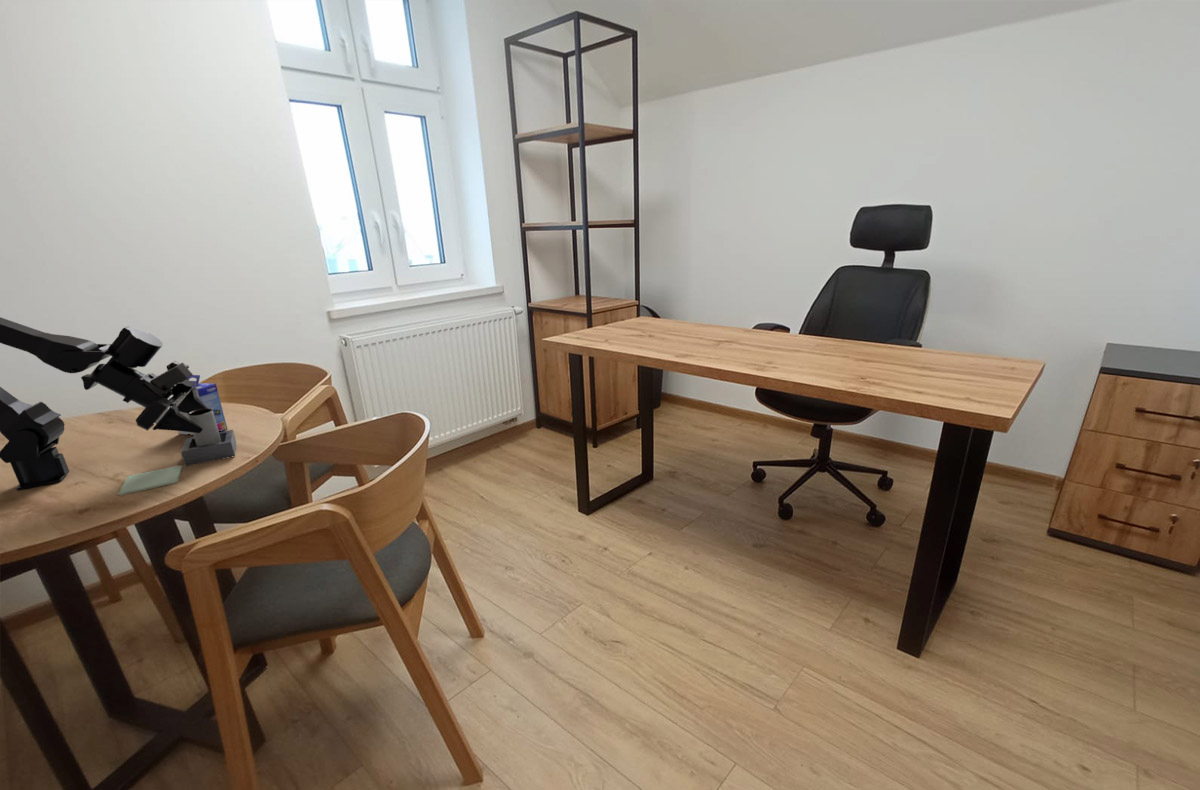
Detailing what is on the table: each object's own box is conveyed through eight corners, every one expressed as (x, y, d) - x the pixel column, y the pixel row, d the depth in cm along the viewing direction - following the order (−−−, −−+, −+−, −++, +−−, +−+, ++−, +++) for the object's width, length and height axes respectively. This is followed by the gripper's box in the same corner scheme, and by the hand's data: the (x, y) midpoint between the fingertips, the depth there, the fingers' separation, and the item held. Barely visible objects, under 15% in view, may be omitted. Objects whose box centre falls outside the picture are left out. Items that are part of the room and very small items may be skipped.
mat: (119, 495, 101) (118, 493, 101) (128, 477, 108) (128, 476, 108) (177, 482, 105) (176, 481, 105) (182, 466, 113) (182, 464, 112)
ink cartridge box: (229, 428, 134) (214, 374, 129) (210, 436, 129) (194, 380, 124) (197, 426, 136) (182, 373, 131) (177, 434, 131) (160, 379, 126)
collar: (185, 466, 113) (181, 451, 111) (190, 452, 120) (186, 438, 119) (234, 456, 117) (230, 442, 116) (236, 443, 124) (232, 429, 123)
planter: (220, 448, 121) (208, 407, 118) (227, 453, 119) (215, 410, 115) (197, 455, 118) (184, 412, 115) (203, 460, 115) (190, 416, 112)
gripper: (137, 364, 101) (219, 408, 108) (171, 345, 117) (241, 384, 125) (99, 408, 101) (184, 450, 108) (139, 383, 117) (211, 421, 125)
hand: (207, 424), depth 116 cm, fingers open, 9 cm apart
